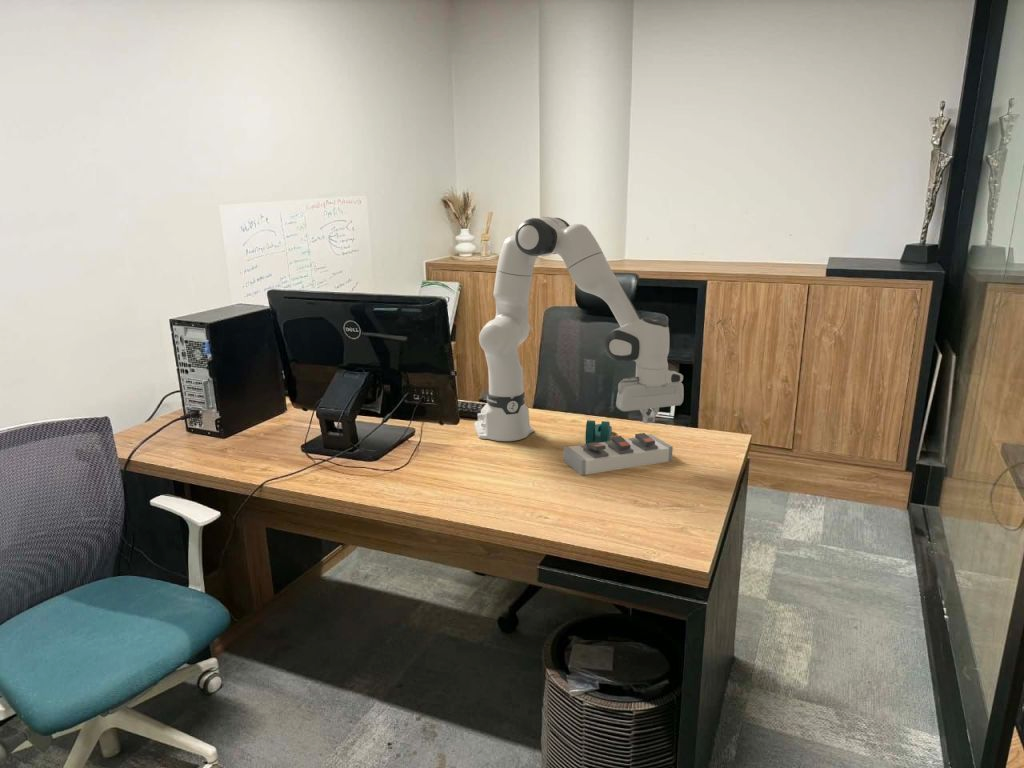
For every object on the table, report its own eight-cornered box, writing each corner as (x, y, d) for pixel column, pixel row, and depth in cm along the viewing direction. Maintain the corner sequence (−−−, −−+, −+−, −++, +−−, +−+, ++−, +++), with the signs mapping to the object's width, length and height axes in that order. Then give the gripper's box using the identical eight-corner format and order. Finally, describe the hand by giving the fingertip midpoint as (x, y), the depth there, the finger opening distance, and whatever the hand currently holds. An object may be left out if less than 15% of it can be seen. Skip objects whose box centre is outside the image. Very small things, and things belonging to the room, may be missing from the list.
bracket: (607, 450, 213) (608, 425, 211) (585, 448, 215) (585, 424, 213) (612, 431, 230) (613, 408, 228) (592, 429, 232) (592, 407, 230)
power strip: (563, 460, 204) (563, 445, 203) (650, 447, 214) (650, 432, 213) (581, 475, 193) (581, 459, 192) (672, 460, 203) (672, 445, 202)
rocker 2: (611, 440, 203) (611, 436, 203) (620, 438, 204) (620, 435, 204) (621, 449, 198) (621, 446, 198) (630, 448, 199) (630, 445, 199)
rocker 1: (586, 446, 201) (586, 443, 200) (595, 445, 202) (595, 441, 201) (596, 450, 195) (595, 446, 195) (605, 449, 196) (605, 445, 196)
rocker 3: (635, 437, 206) (635, 433, 206) (644, 435, 207) (644, 432, 207) (645, 445, 201) (646, 442, 200) (654, 444, 202) (655, 440, 201)
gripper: (624, 381, 190) (622, 429, 194) (688, 375, 197) (684, 422, 201) (613, 376, 196) (611, 423, 199) (675, 370, 203) (672, 415, 206)
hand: (648, 422), depth 200 cm, fingers closed
